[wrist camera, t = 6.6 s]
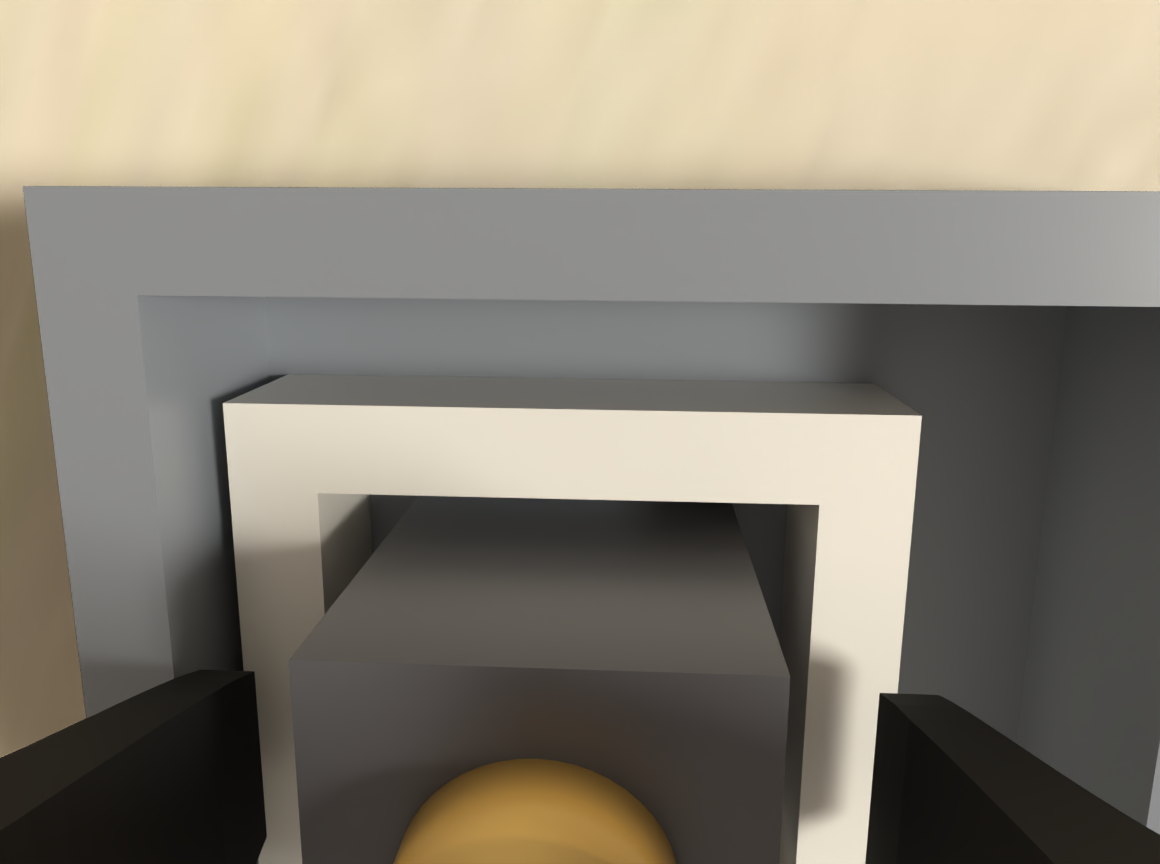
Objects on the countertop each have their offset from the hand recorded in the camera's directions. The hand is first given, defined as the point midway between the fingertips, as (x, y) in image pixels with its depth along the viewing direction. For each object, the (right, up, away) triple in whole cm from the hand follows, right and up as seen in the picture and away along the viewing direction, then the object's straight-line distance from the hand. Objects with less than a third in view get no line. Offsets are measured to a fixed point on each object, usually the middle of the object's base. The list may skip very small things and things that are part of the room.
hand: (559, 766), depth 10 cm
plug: (0, +1, +3) cm, 3 cm away
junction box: (+1, +1, +3) cm, 3 cm away
